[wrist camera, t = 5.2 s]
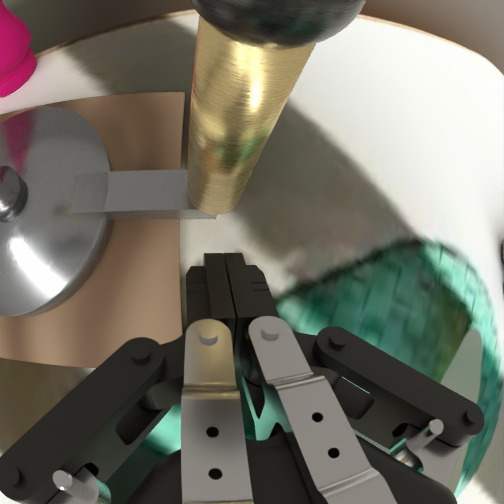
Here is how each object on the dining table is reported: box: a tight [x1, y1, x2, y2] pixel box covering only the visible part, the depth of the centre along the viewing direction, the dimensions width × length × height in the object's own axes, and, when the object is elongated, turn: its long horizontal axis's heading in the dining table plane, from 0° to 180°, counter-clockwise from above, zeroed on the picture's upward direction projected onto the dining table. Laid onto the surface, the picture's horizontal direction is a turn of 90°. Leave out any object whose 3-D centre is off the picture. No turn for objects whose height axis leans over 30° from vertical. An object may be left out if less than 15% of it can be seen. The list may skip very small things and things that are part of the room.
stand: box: [0, 92, 185, 368], centre depth 17 cm, size 22×20×2 cm
